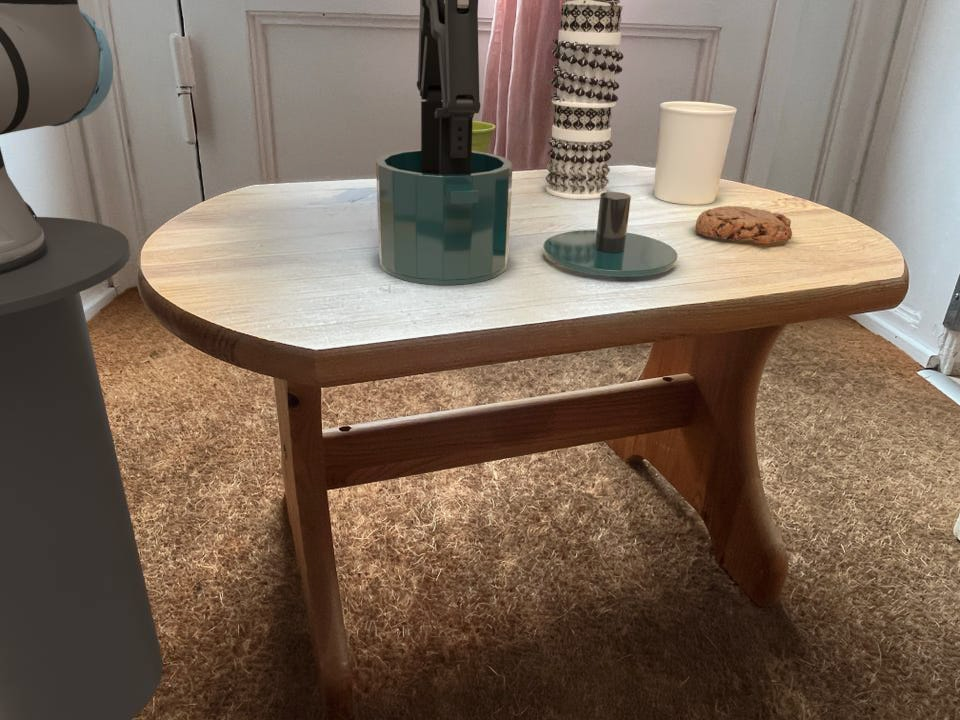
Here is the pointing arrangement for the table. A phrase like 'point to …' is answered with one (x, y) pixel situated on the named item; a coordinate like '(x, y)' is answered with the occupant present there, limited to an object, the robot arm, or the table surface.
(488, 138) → the plant pot
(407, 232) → the pot
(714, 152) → the white cup
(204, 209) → the table surface
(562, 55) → the decorative candle
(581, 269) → the pot lid
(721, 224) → the cookie
